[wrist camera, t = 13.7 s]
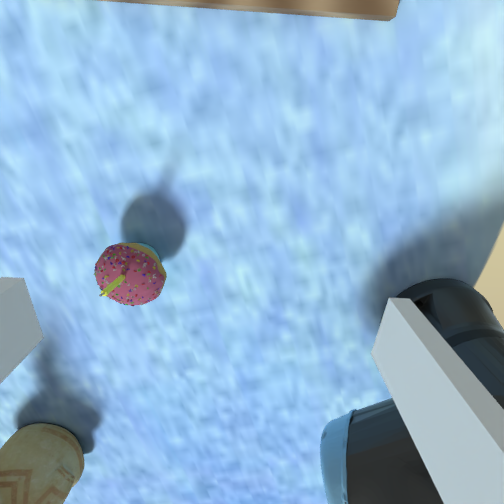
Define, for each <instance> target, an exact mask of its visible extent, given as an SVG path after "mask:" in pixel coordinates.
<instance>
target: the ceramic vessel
mask: <svg viewBox="0 0 504 504" xmlns="http://www.w3.org/2000/svg"><path fill="white" fill-rule="evenodd" d="M83 470H84V456H83V452H82V449H81V446H80V444H79V442H78V440H77V439H76V438H75V436H74V435H73V434H71V433H70V432H69V431H68V430H66V429H64V428H62V427H60V426H57V425H53V424H47V423H36V424H31V425H27V426H25V427H22V428H21V429H19V430H18V431H17V432H15V433H14V434H13V435H12V436H11V437H10V438H9V440H8V441H7V442H6V443H5V444H4V445H3V446H2V448H1V449H0V504H63V503H64V501H65V499H66V498H67V496H68V494H69V492H70V490H71V488H72V487H73V486H74V485H75V484H76V483H77V482H78V481H79V479H80V477H81V475H82V472H83Z"/></svg>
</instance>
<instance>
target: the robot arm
mask: <svg viewBox="0 0 504 504" xmlns="http://www.w3.org/2000/svg"><path fill="white" fill-rule="evenodd" d="M43 338H44V337H43V334H42V331H41V328H40V325H39V322H38V319H37V316H36V313H35V310H34V307H33V304H32V301H31V298H30V295H29V292H28V289H27V286H26V283H25V280H24V278H11V277H1V278H0V384H1V383H2V382H3V381H4V379H5V378H6V377H7V376H8V375H9V374H10V373H11V372H12V371H13V370H14V369H15V368H16V367H17V366H18V365H19V364H20V363H21V361H22V360H23V359H24V358H25V357H26V356H27V355H28V354H29V353H30V352H31V351H32V350H33V349H34V348H35V347H36V346H37V345H38V343H39V342H40V341H41V340H42V339H43ZM371 355H372V357H373V359H374V361H375V363H376V365H377V367H378V370H379V372H380V374H381V376H382V378H383V380H384V382H385V384H386V386H387V388H388V390H389V392H390V394H391V396H392V398H391V399H388V400H385V401H382V402H379V403H376V404H374V405H371V406H368V407H365V408H362V409H359V410H356V409H354V410H351V411H350V412H349V413H348V414H346V415H344V416H341V417H339V418H337V419H334V420H332V421H330V422H329V423H328V424H327V425H326V426H325V428H324V430H323V433H322V436H321V445H320V459H321V469H322V477H323V483H324V488H325V493H326V497H327V501H328V504H504V330H503V328H502V326H501V325H500V323H499V322H498V320H497V319H496V317H495V316H494V314H493V310H492V308H491V306H490V304H489V303H488V301H487V300H486V299H485V298H484V297H483V296H482V295H481V294H480V293H479V292H477V291H476V290H475V289H474V288H472V287H471V286H470V285H468V284H466V283H464V282H461V281H458V280H453V279H435V280H429V281H425V282H422V283H419V284H417V285H414V286H412V287H410V288H408V289H407V290H405V291H404V292H402V293H401V294H399V295H398V296H397V297H396V298H389V299H388V302H387V305H386V308H385V311H384V314H383V316H382V318H381V322H380V327H379V330H378V333H377V336H376V339H375V343H374V346H373V349H372V352H371Z"/></svg>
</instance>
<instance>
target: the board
mask: <svg viewBox="0 0 504 504" xmlns="http://www.w3.org/2000/svg"><path fill="white" fill-rule="evenodd" d="M99 1H113V2H127V3H141V4H155V5H169V6H183V7H197V8H211V9H225V10H239V11H253V12H267V13H281V14H295V15H309V16H323V17H337V18H351V19H365V20H379V21H390V20H391V19H393V18H394V17H396V13H397V8H398V4H399V0H99Z"/></svg>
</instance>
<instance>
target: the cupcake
mask: <svg viewBox="0 0 504 504" xmlns="http://www.w3.org/2000/svg"><path fill="white" fill-rule="evenodd" d="M95 265H96V266H95V273H94V274H95V277H96V281H97V283H98V284H99V286H100V289H101V290H102V291H101V294H100V295H99V296H107V297H109V298H110V299H113V300H115V301H116V302H119V303H121V304H122V303H123V304H124V305H131V306H134V305H143V304H145V303H148V302H150V301H152V300H154V299H156V298H157V297H158V296H159V295H160V293H161V291H162V288H163V286H164V283H165V280H166V272H165V270H164V268H163V266H162V264H161V262H160V259H159V255H158V253H157V252H156V250H155V249H154V248H152V247H151V246H149V245H147V244H144V243H119V244H115V245H111V246H109V247H108V248H106V249H105V251H104V252H103V253H102V255H101V256H100V258H99V260H98V261H97V263H96V264H95Z"/></svg>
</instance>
